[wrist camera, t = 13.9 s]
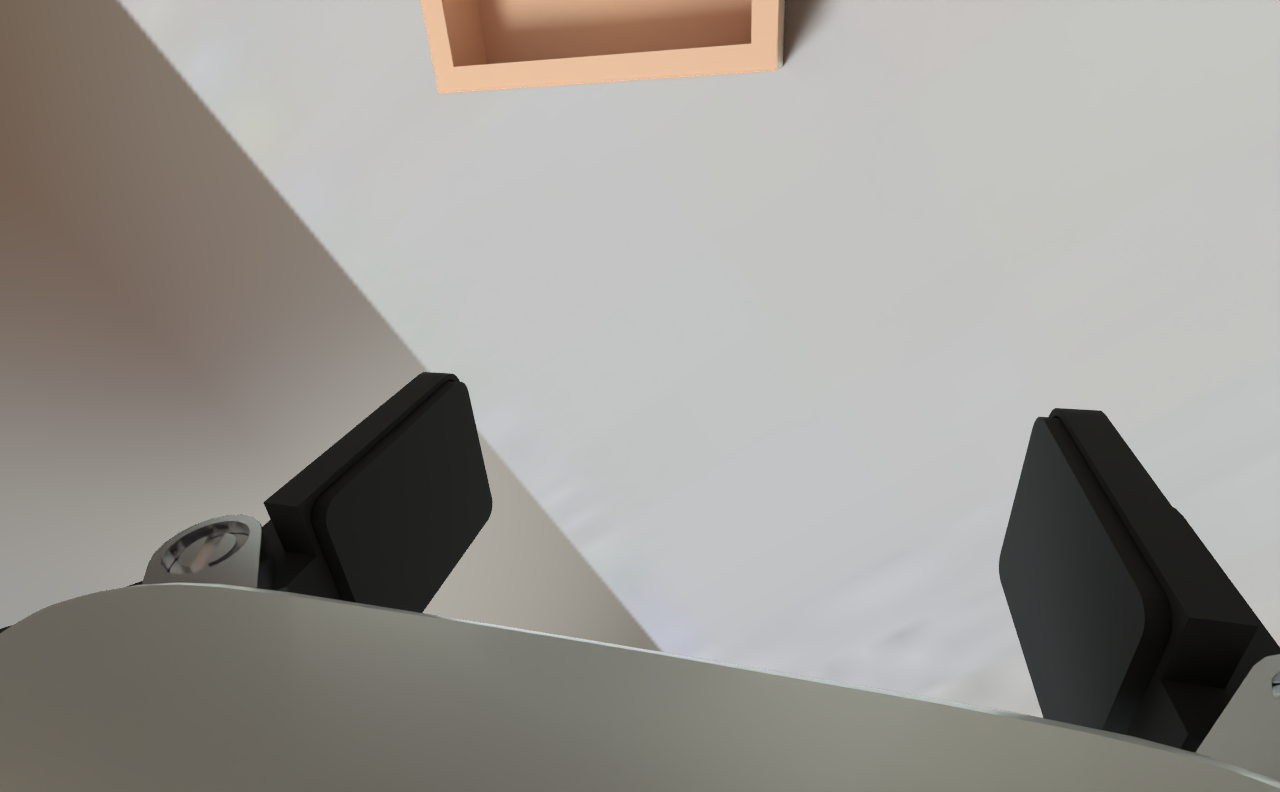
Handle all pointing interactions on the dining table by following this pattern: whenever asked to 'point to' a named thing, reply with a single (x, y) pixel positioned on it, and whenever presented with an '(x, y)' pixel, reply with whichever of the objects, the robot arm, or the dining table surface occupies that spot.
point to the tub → (597, 40)
